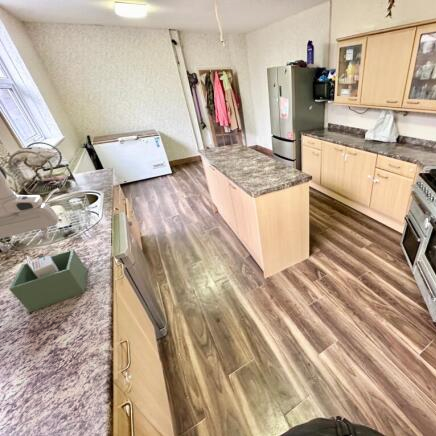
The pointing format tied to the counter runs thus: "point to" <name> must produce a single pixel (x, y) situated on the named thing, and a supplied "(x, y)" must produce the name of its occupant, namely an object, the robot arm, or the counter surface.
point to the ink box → (42, 266)
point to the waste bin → (50, 282)
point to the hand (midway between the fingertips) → (27, 244)
